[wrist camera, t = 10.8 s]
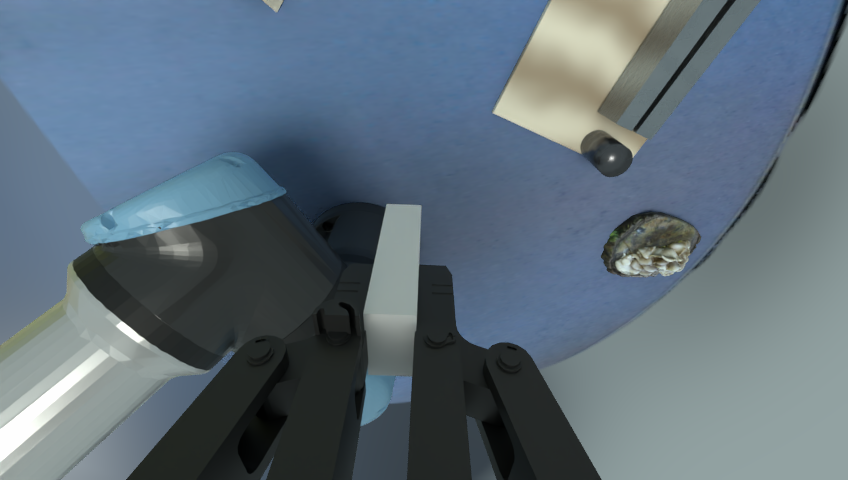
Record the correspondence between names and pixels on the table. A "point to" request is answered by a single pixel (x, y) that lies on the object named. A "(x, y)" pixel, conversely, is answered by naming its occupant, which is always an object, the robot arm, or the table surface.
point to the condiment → (274, 4)
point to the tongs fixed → (669, 90)
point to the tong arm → (658, 59)
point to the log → (650, 245)
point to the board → (577, 68)
